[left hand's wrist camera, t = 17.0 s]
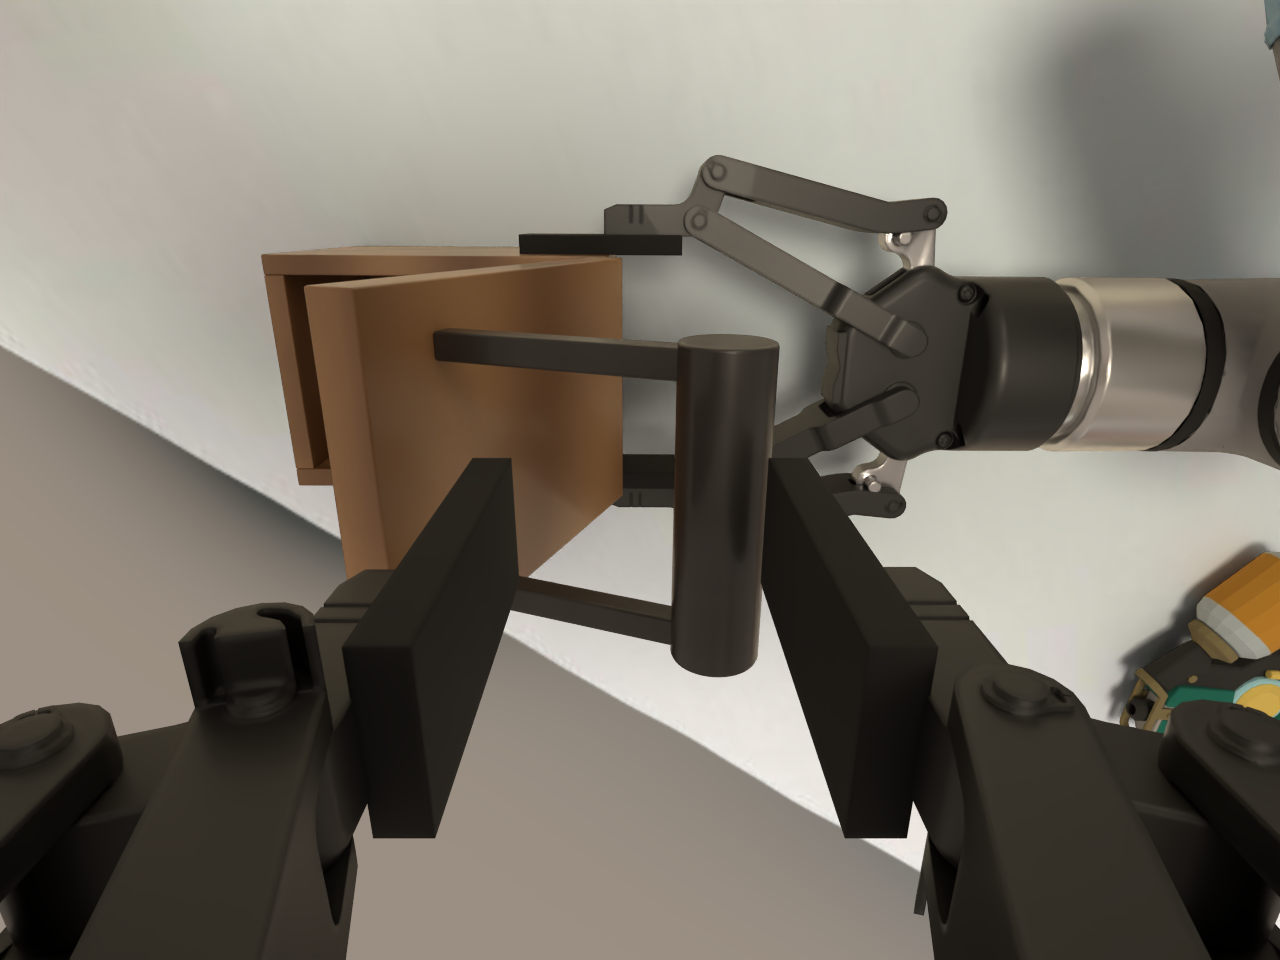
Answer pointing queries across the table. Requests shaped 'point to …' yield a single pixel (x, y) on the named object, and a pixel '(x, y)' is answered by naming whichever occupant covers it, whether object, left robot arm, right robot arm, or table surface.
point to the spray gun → (1220, 651)
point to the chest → (293, 329)
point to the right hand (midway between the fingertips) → (530, 363)
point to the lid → (547, 435)
